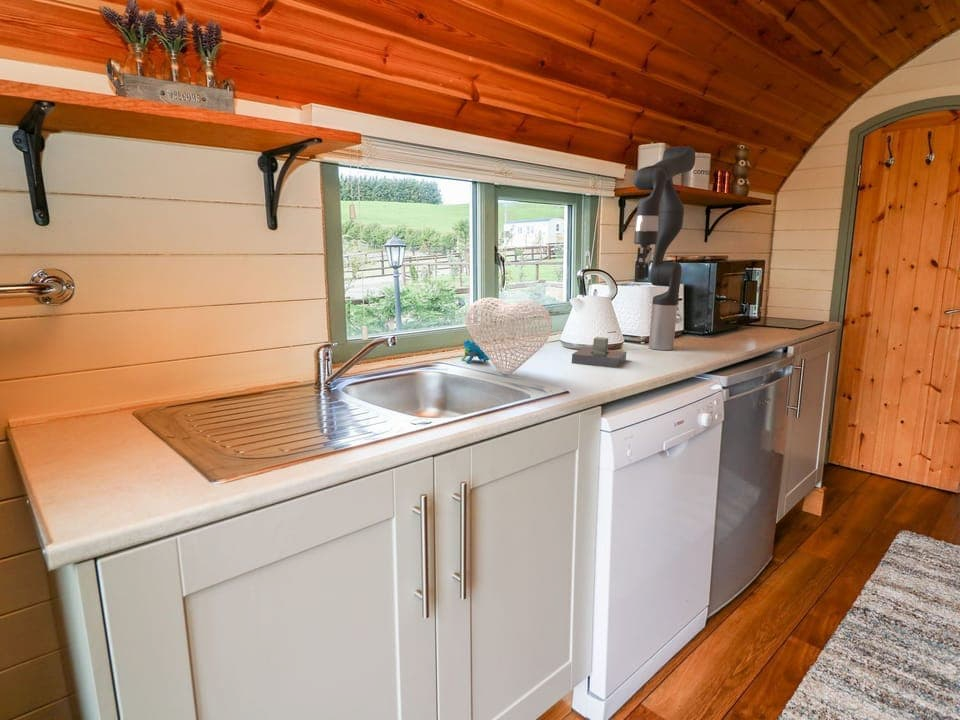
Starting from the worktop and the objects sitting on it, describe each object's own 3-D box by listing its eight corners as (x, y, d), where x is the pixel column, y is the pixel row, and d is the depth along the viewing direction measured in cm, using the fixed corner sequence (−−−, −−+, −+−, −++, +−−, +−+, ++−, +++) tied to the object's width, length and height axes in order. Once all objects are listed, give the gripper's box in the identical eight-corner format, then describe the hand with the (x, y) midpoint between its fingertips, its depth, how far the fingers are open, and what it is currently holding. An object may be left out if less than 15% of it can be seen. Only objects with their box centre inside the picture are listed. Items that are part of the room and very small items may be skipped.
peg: (595, 360, 199) (596, 336, 198) (606, 361, 198) (608, 337, 196) (592, 361, 196) (593, 338, 194) (604, 363, 194) (605, 339, 192)
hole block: (583, 355, 206) (583, 347, 206) (625, 360, 200) (626, 351, 200) (571, 362, 193) (572, 354, 192) (617, 367, 187) (617, 358, 186)
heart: (559, 378, 169) (563, 302, 165) (526, 386, 158) (529, 304, 154) (488, 363, 188) (490, 294, 184) (454, 369, 177) (455, 296, 173)
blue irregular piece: (496, 359, 187) (476, 338, 183) (485, 373, 185) (465, 352, 181) (478, 357, 197) (459, 338, 193) (468, 371, 195) (448, 351, 191)
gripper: (638, 230, 204) (635, 276, 208) (631, 229, 192) (627, 278, 195) (660, 230, 201) (656, 277, 205) (654, 229, 189) (650, 279, 192)
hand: (642, 278), depth 200 cm, fingers open, 8 cm apart
